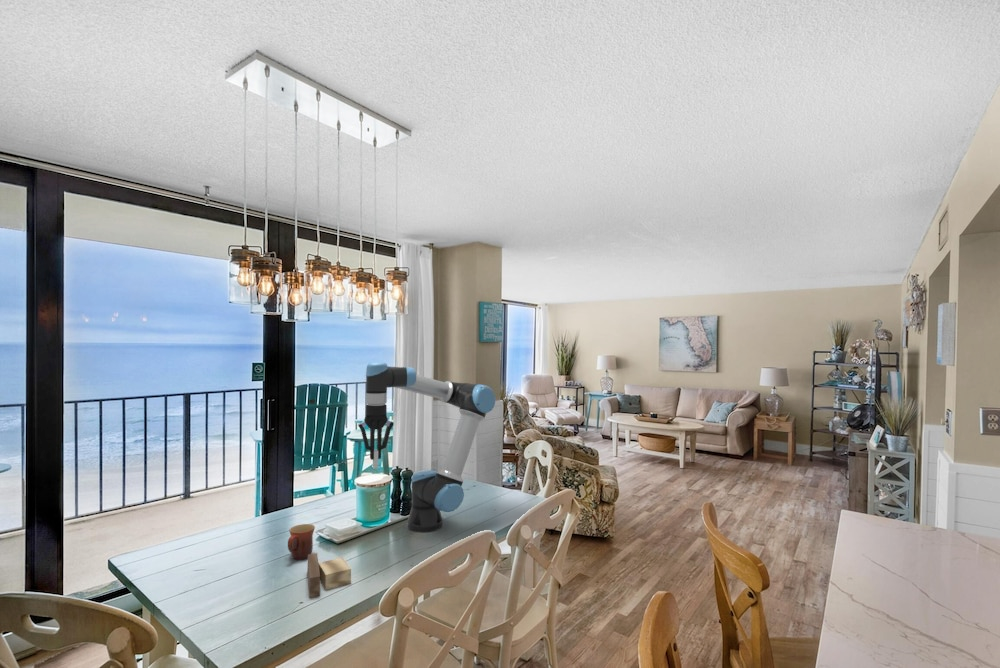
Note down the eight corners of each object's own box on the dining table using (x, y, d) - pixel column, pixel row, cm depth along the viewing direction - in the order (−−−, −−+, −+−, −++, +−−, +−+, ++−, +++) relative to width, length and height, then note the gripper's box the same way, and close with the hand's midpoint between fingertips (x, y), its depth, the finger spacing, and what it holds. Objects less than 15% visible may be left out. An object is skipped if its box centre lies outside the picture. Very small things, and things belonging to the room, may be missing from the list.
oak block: (342, 571, 166) (342, 557, 166) (350, 584, 157) (351, 568, 157) (318, 577, 161) (318, 562, 161) (325, 590, 153) (325, 574, 153)
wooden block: (316, 570, 166) (317, 553, 166) (319, 595, 149) (320, 576, 149) (307, 572, 165) (307, 554, 165) (309, 597, 148) (309, 578, 148)
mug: (298, 550, 182) (298, 523, 182) (319, 552, 180) (319, 524, 180) (277, 564, 170) (278, 535, 170) (299, 567, 168) (300, 537, 169)
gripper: (391, 402, 185) (391, 464, 184) (356, 403, 180) (355, 467, 179) (395, 404, 178) (395, 468, 177) (359, 406, 173) (358, 472, 172)
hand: (375, 467), depth 178 cm, fingers closed
